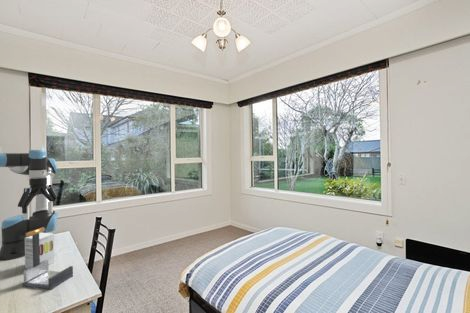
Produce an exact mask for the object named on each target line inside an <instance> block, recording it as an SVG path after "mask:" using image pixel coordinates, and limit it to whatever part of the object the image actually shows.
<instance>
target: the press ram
mask: <svg viewBox="0 0 470 313" xmlns="http://www.w3.org/2000/svg"><path fill="white" fill-rule="evenodd" d="M44 231H45V228H44V227H42V228H39V229H36V230H33V231H30V232H27V233H26V237H30V236H32V240H33V266H32V267H30V268H25V269H24V270H23V282H27V281H29V280H30V279H32V278H34V277H36V276H38V275H40V274H42V273H44V272H45V271H49V265H48V260H45V261H43V262H41V263H40V251H39V233H41V232H44Z"/></svg>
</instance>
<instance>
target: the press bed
mask: <svg viewBox="0 0 470 313" xmlns="http://www.w3.org/2000/svg"><path fill="white" fill-rule="evenodd" d="M73 276H74V267H73V266H72V265H69V267H66V268H65V269H63V270H61V271H56V270H47V271H45V272H44V273H42V274H40V275H38V276H36V277H34V278H32V279H30V280H29V281H27V282H26V281H23V283H21V284H22V287H24V288H32V289H40V290H49V291H51V290H53V289H55V288H56V287H58V286H59V285H61V284H63V283H64V282H66V281H68V280H69V279H71V278H72V277H73Z"/></svg>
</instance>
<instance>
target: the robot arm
mask: <svg viewBox="0 0 470 313" xmlns="http://www.w3.org/2000/svg"><path fill="white" fill-rule="evenodd" d="M0 168H8V169H9V170H10V171H11V172H13V173H14V174H19V175H24V176H29V177H28V178H29V179H28V180H29V181H28V182H29V186H30V187H24V188H23V193H22V195H21V197H20V199H19V201H18V204H17V207H18V208H21V214H18V215H14V216H9V217H7V218H5V219H4V220H2V222H1V227H0V229H1V247H0V260H1V261H5V260H6V261H7V260H15V259H17V258H22V257H25V238H26V233H27V232H30V231H33V230H36V229H39V228H42V227H44V228H45V231H44V232H41V233H52V232H55V230H56V227H57V223H58V213H56V210H54V205H55V203H54V202H56V200H57V199H58V196H57V195H56V193H55V192H54V189H53V178H55V176H56V175H57V174H58V168H57V162H56V159H55V158H51V157H50V158H49V157H48V154H47V151H46V150H45V149H29V150H28V152H27V153H26V152H22V153H18V152H15V153H12V152H10V153H9V152H7V153H6V152H3V153H0ZM34 198H35V211H33V212H32V213H31V214H32V216H30V207H29V205H30V203H31V202H32V201H33V199H34Z"/></svg>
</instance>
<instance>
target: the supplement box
mask: <svg viewBox="0 0 470 313" xmlns="http://www.w3.org/2000/svg"><path fill="white" fill-rule="evenodd" d="M39 251H40V263H41V262H43V261H45V260H48V266H49V265H51V264H54V263H55V233H52V232H48V233H39ZM32 266H33V240H32V236H30V237H26V238H25V256H24V268H25V269H28V268H30V267H32Z"/></svg>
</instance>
